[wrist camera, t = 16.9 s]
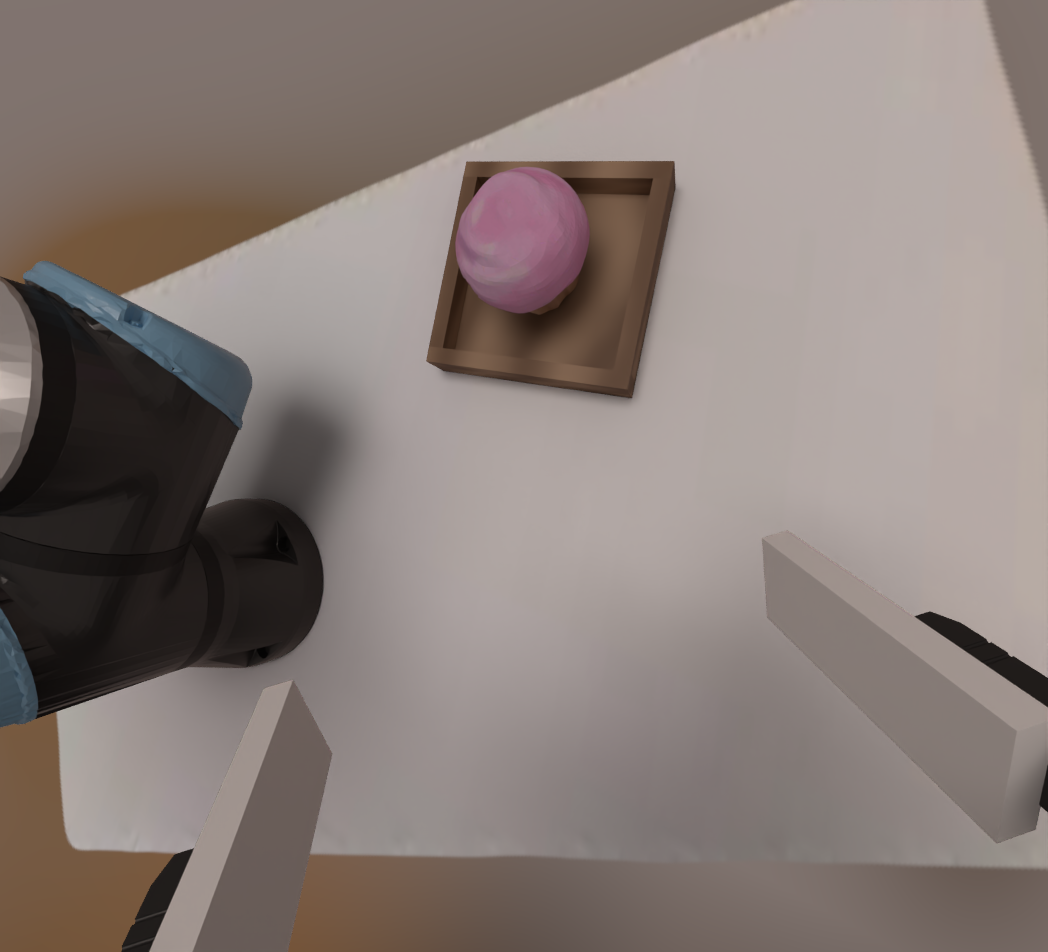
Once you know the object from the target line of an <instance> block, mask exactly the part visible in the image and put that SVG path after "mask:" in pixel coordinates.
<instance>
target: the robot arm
mask: <svg viewBox="0 0 1048 952" xmlns="http://www.w3.org/2000/svg"><path fill="white" fill-rule="evenodd" d="M23 279H24V280H25V284H21V283H18V282H15V281H12V280H9V279H6V278H3V277H0V727H3V726H8V725H11V724H25V723H27V722H29V721H31V720H34V719H37V718H39V717H42V716H45V715H48V714H51V713H54V712H57V711H60V710H63V709H66V708H69V707H71V706H74V705H77V704H80V703H83V702H86V701H89V700H92V699H95V698H98V697H101V696H103V695H106V694H109V693H112V692H115V691H118V690H121V689H124V688H127V687H130V686H133V685H135V684H138V683H141V682H144V681H147V680H150V679H153V678H156V677H159V676H162V675H165V674H167V673H170V672H173V671H176V670H180V669H183V668H186V667H215V668H246V667H253V666H257V665H260V664H263V663H266V662H268V661H271V660H274V659H276V658H279V657H281V656H283V655H285V654H287V653H288V652H290V651H291V650H292V649H294V648H295V647H296V646H297V645H298V644H299V643H300V642H301V641H302V640H303V639H304V637H305V636H306V635H307V633H308V631H309V630H310V628H311V626H312V624H313V622H314V620H315V618H316V615H317V612H318V609H319V605H320V600H321V594H322V568H321V561H320V557H319V553H318V550H317V547H316V544H315V542H314V539H313V537H312V535H311V533H310V532H309V530H308V529H307V527H306V526H305V524H304V523H303V522H302V520H301V519H300V518H299V517H298V516H297V515H296V514H295V513H294V512H292V511H291V510H290V509H288V508H287V507H285V506H283V505H281V504H279V503H277V502H274V501H270V500H265V499H235V500H229V501H225V502H222V503H219V504H216V505H214V506H211V507H208V508H206V506H207V503H208V501H209V499H210V496H211V494H212V491H213V489H214V487H215V484H216V482H217V480H218V477H219V475H220V473H221V470H222V468H223V465H224V463H225V461H226V458H227V456H228V454H229V451H230V449H231V447H232V444H233V442H234V439H235V437H236V435H237V432H238V430H241V428H242V424H243V421H242V419H241V418H242V415H243V412H244V409H245V406H246V403H247V400H248V397H249V394H250V391H251V389H252V376H251V374H250V371H249V368H248V366H247V365H246V364H245V363H244V361H243V360H242V359H240V358H239V357H238V356H236V355H234V354H232V353H231V352H229V351H227V350H225V349H223V348H221V347H219V346H217V345H215V344H213V343H211V342H209V341H207V340H205V339H203V338H201V337H199V336H197V335H196V334H194V333H192V332H190V331H188V330H186V329H184V328H182V327H180V326H178V325H176V324H174V323H172V322H170V321H168V320H166V319H164V318H162V317H160V316H158V315H156V314H154V313H152V312H150V311H148V310H146V309H144V308H142V307H140V306H138V305H136V304H134V303H132V302H130V301H128V300H126V299H124V298H123V297H121V296H118V295H117V294H115V293H112V292H111V291H108V290H107V289H105V288H102V287H100V286H99V285H97V284H95V283H93V282H90V281H89V280H87V279H85V278H82V277H81V276H79V275H76V274H74V273H72V272H70V271H68V270H66V269H64V268H62V267H60V266H58V265H56V264H54V263H52V262H49V261H41V262H38V263H37V264H36V265H34V267H33V268H32V270H29V271H26V274H25V273H24V276H23ZM762 545H763V560H764V575H765V591H766V606H767V618H768V619H769V620H770V621H771V622H772V623H773V624H774V625H775V626H776V627H777V628H778V629H779V630H780V631H782V632H783V633H784V634H785V635H786V636H787V637H788V638H789V639H790V640H791V641H792V642H793V643H794V644H795V645H796V646H797V647H798V648H799V649H800V650H801V651H802V652H803V653H804V654H805V655H806V656H807V657H808V658H809V659H810V660H811V661H812V662H813V663H814V664H815V665H816V666H817V667H818V668H819V669H820V670H821V671H822V672H823V673H824V674H825V675H826V676H827V677H828V678H829V679H830V680H831V681H832V682H833V683H834V684H835V685H836V686H837V687H838V688H839V689H840V690H841V691H842V692H843V693H844V694H845V695H846V696H847V697H848V698H849V699H851V700H852V701H853V702H854V703H855V704H856V705H857V706H858V707H859V708H860V709H861V710H862V711H863V712H864V713H865V714H866V715H867V716H868V717H869V718H870V719H871V720H872V721H873V722H874V723H875V724H876V725H877V726H878V727H879V728H880V729H881V730H882V731H883V732H884V733H885V734H886V735H887V736H888V737H889V738H890V739H891V740H892V741H893V742H894V743H895V744H896V745H897V746H898V747H899V748H900V749H901V750H902V751H903V752H904V753H905V754H906V755H907V756H908V757H909V758H910V759H911V760H912V761H913V762H914V763H915V764H916V765H917V766H918V767H919V768H921V769H922V770H923V771H924V772H925V773H926V774H927V775H928V776H929V777H930V778H931V779H932V780H933V781H934V782H935V783H936V784H937V785H938V786H939V787H940V788H941V789H942V790H943V791H944V792H945V793H946V794H947V795H948V796H949V797H950V798H951V799H952V800H953V801H954V802H955V803H956V804H957V805H958V806H959V807H960V808H961V809H962V810H963V811H964V812H965V813H966V814H967V815H968V816H969V817H970V818H971V819H972V820H973V821H974V822H975V823H976V824H977V825H978V826H979V827H980V828H981V829H982V830H983V831H984V832H985V833H986V834H987V835H988V836H990V837H991V838H992V839H993V840H994V841H995V842H996V843H999V842H1002V841H1005V840H1008V839H1010V838H1013V837H1016V836H1019V835H1022V834H1024V833H1027V832H1030V831H1033V830H1035V829H1036V825H1037V820H1038V816H1039V811H1040V807H1042V808H1043V809H1045V810H1046V811H1047V812H1048V678H1047V677H1045V676H1044V675H1042V674H1041V673H1039V672H1038V671H1036V670H1034V669H1033V668H1031V667H1030V666H1028V665H1026V664H1025V663H1023V662H1022V661H1020V660H1019V659H1017V658H1015V657H1014V656H1013V657H1010V656H1009V655H1008V652H1006V651H1004V650H1003V649H1001V648H1000V647H998V646H996V645H995V644H993V643H992V642H991V643H988V642H987V640H986V639H985V638H984V637H982V636H981V635H979V634H977V633H976V632H974V631H973V630H971V629H970V628H968V627H966V626H965V625H963V624H962V623H960V622H957V621H954V620H952V619H949V618H946V617H944V616H941V615H938V614H936V613H933V612H927V613H924V614H920V615H917V616H913V615H911V614H910V613H908V612H907V611H905V610H904V609H902V608H901V607H899V606H898V605H897V604H895V603H894V602H892V601H891V600H889V599H888V598H886V597H885V596H883V595H882V594H880V593H879V592H877V591H876V590H874V589H873V588H872V587H870V586H869V585H867V584H866V583H864V582H863V581H861V580H860V579H858V578H857V577H855V576H854V575H852V574H851V573H849V572H848V571H847V570H845V569H844V568H842V567H841V566H839V565H838V564H836V563H835V562H833V561H832V560H830V559H829V558H827V557H826V556H825V555H823V554H822V553H820V552H819V551H817V550H816V549H814V548H813V547H811V546H810V545H808V544H807V543H805V542H804V541H802V540H801V539H800V538H798V537H797V536H795V535H794V534H792V533H791V532H789V531H788V530H787V531H784V532H781V533H777V534H774V535H771V536H767V537H764V538H762ZM331 757H332V752H331V750H330V748H329V747H328V745H327V743H326V741H325V739H324V737H323V735H322V733H321V731H320V729H319V728H318V726H317V724H316V722H315V720H314V718H313V716H312V714H311V712H310V711H309V709H308V707H307V705H306V703H305V701H304V699H303V697H302V695H301V694H300V692H299V690H298V688H297V686H296V684H295V682H294V680H290V681H287V682H283V683H280V684H277V685H273V686H270V687H267V688H264V689H263V691H262V694H261V696H260V698H259V701H258V703H257V705H256V707H255V710H254V712H253V714H252V717H251V719H250V721H249V724H248V726H247V728H246V730H245V733H244V735H243V737H242V740H241V742H240V744H239V747H238V749H237V751H236V753H235V756H234V758H233V760H232V763H231V765H230V767H229V769H228V772H227V774H226V776H225V779H224V781H223V783H222V786H221V788H220V790H219V792H218V795H217V797H216V799H215V802H214V804H213V806H212V809H211V811H210V813H209V815H208V818H207V820H206V822H205V825H204V827H203V829H202V832H201V834H200V836H199V838H198V841H197V843H196V845H195V848H193V849H190V850H187V851H184V852H181V853H178V854H175V855H174V856H173V857H172V859H171V860H170V861H169V863H168V864H167V865H166V867H165V868H164V869H163V871H162V872H161V873H160V874H159V876H158V877H157V878H156V880H155V881H154V883H153V884H152V885H151V887H150V889H149V891H148V893H147V895H146V897H145V899H144V902H143V903H142V906H141V907H140V910H139V912H138V914H137V916H136V918H135V920H136V922H135V924H134V925H132V926H131V928H130V930H129V932H128V935H127V937H126V939H125V941H124V943H123V945H122V952H288V947H289V943H290V939H291V934H292V930H293V925H294V921H295V917H296V912H297V908H298V903H299V899H300V894H301V890H302V886H303V881H304V877H305V872H306V867H307V863H308V859H309V855H310V850H311V846H312V841H313V837H314V832H315V828H316V824H317V819H318V815H319V810H320V806H321V801H322V797H323V793H324V788H325V784H326V779H327V775H328V770H329V766H330V761H331Z"/></svg>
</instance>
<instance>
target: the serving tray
mask: <svg viewBox="0 0 1048 952" xmlns="http://www.w3.org/2000/svg"><path fill="white" fill-rule="evenodd" d="M519 167H536V168H541V169H545V170H548V171H550V172H552V173H554V174H556V175H558V176H559V177H560V178H562V179H563V180H565V181H566V182H567V183H568V184H569V185H570V186H571V187H572V189H573V190H574V191H575V193H576V194H577V195H578V197H579V199H580V201H581V203H582V204H583V206H584V208H585V211H586V214H587V218H588V222H589V229H590V237H589V244H588V249H587V253H586V257H585V260H584V263H583V266H582V268H581V271H580V273H579V278H578V283H577V285H576V287H575V289H574V290H573V291H572V292H571V293H570V294H569V295H567V296H566V297H565V298H564V299H563V300H562V302H561V303H560V305H559V307H558V308H556V309H553V310H549V311H547V312H545V313H543V314H540V315H538V314H535V313H531V312H527V313H512V312H508V311H505V310H501V309H498V308H495V307H493V306H491V305H489V304H487V303H486V302H484V301H483V300H481V299H480V298H479V297H478V295H477V294H476V293H475V292H474V291H473V289H472V287H471V286H470V285H469V284H468V282H467V281H466V279H465V278H464V277H463V275H462V273H461V271H460V268H459V265H458V262H457V257H456V246H455V242H456V235H457V231H458V228H459V222H460V219H461V216H462V214H463V212H464V211H465V209H466V208H467V206H468V205H469V204H470V202H471V201H472V199H473V198H474V196H475V195H476V193H477V192H478V191H479V189H480V188H481V187H482V186H483V184H484V183H485V182H486V181H487V180H488V179H490V178H491V177H492V176H494V175H495V174H498V173H501V172H505V171H508V170H511V169H514V168H519ZM674 192H675V166H674V161H558V162H466V167H465V172H464V176H463V181H462V186H461V191H460V196H459V201H458V206H457V211H456V216H455V221H454V226H453V231H452V236H451V241H450V246H449V251H448V256H447V261H446V266H445V271H444V275H443V280H442V285H441V290H440V295H439V300H438V305H437V310H436V315H435V320H434V325H433V330H432V335H431V340H430V345H429V350H428V355H427V360H426V361H427V362H429V363H430V364H432V365H434V366H436V367H438V368H440V369H441V370H443V371H449V372H456V373H463V374H470V375H477V376H483V377H490V378H497V379H504V380H511V381H518V382H525V383H532V384H538V385H545V386H552V387H559V388H566V389H573V390H580V391H586V392H593V393H600V394H607V395H614V396H621V397H628V398H632V395H633V390H634V385H635V381H636V376H637V371H638V366H639V361H640V356H641V352H642V347H643V342H644V337H645V332H646V327H647V322H648V318H649V313H650V308H651V303H652V298H653V293H654V289H655V284H656V279H657V274H658V269H659V264H660V259H661V255H662V250H663V245H664V240H665V235H666V230H667V226H668V221H669V216H670V211H671V206H672V201H673V196H674Z"/></svg>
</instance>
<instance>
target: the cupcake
mask: <svg viewBox="0 0 1048 952" xmlns="http://www.w3.org/2000/svg"><path fill="white" fill-rule="evenodd" d="M589 237H590V229H589V222H588V218H587V214H586V211H585V208H584V206H583V204H582V203H581V201H580V199H579V197H578V195H577V194H576V193H575V191H574V190H573V189H572V187H571V186H570V185H569V184H568V183H567V182H566V181H565V180H563V179H562V178H560V177H559V176H558V175H556V174H554V173H552V172H550V171H548V170H545V169H541V168H536V167H519V168H514V169H511V170H508V171H505V172H501V173H498V174H495V175H494V176H492V177H491V178H490V179H488V180H487V181H486V182H485V183H484V184H483V186H482V187H481V188H480V189H479V191H478V192H477V193H476V195H475V196H474V198H473V199H472V201H471V202H470V204H469V205H468V206H467V208H466V209H465V211H464V212H463V214H462V216H461V219H460V222H459V228H458V231H457V235H456V242H455V246H456V257H457V262H458V265H459V268H460V271H461V273H462V275H463V277H464V278H465V279H466V281H467V282H468V284H469V285H470V286H471V287H472V289H473V291H474V292H475V293H476V294H477V295H478V297H479V298H480V299H481V300H483V301H484V302H486V303H487V304H489V305H491V306H493V307H495V308H498V309H501V310H505V311H508V312H512V313H527V312H531V313H535V314H538V315H540V314H543V313H545V312H547V311H549V310H553V309H556V308H558V307H559V305H560V303H561V302H562V300H563V299H564V298H565V297H566V296H567V295H569V294H570V293H571V292H572V291H573V290H574V289H575V287H576V285H577V283H578V278H579V273H580V271H581V268H582V266H583V263H584V260H585V257H586V253H587V249H588V244H589Z"/></svg>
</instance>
